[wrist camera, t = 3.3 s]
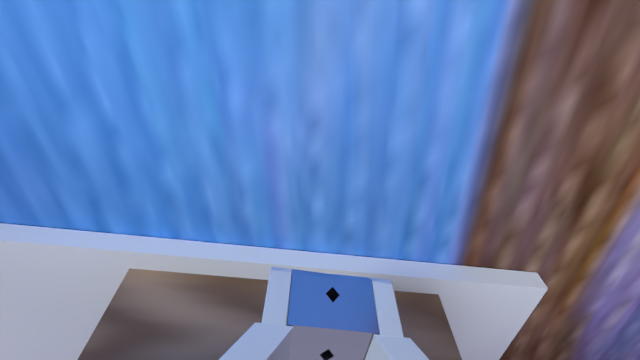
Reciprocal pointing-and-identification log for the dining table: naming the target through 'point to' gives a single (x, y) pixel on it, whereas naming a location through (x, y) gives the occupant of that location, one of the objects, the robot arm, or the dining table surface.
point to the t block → (222, 318)
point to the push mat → (221, 260)
